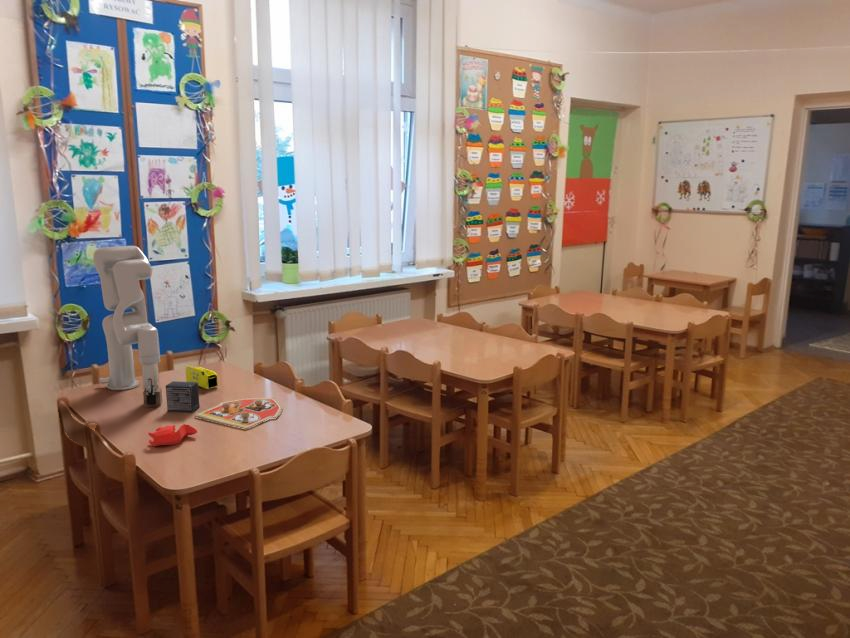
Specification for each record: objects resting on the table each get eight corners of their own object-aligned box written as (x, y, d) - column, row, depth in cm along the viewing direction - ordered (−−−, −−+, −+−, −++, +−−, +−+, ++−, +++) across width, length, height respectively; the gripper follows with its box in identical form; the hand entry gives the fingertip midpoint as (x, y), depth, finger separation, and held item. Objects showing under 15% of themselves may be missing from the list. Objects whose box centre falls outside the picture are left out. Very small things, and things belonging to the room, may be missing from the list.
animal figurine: (202, 439, 228) (201, 425, 227) (160, 451, 218) (159, 437, 217) (185, 430, 236) (184, 416, 235) (144, 441, 225) (143, 427, 224)
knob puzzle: (191, 418, 248) (190, 407, 247) (246, 396, 274) (245, 385, 273) (250, 433, 235) (250, 421, 234) (302, 407, 260) (302, 397, 259)
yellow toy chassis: (185, 383, 287) (184, 365, 286) (197, 380, 292) (195, 362, 290) (207, 391, 278) (206, 372, 276) (218, 388, 282) (217, 369, 280)
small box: (200, 407, 259) (198, 381, 257) (193, 412, 253) (191, 386, 250) (174, 405, 260) (172, 380, 258) (166, 411, 254) (164, 385, 251)
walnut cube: (144, 407, 258) (143, 392, 257) (146, 402, 264) (145, 388, 262) (160, 406, 259) (159, 391, 258) (162, 401, 265) (161, 387, 264)
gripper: (142, 353, 265) (145, 394, 268) (136, 365, 248) (140, 408, 252) (162, 352, 267) (165, 392, 270) (157, 363, 250) (161, 406, 254)
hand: (153, 400), depth 261 cm, fingers open, 9 cm apart
